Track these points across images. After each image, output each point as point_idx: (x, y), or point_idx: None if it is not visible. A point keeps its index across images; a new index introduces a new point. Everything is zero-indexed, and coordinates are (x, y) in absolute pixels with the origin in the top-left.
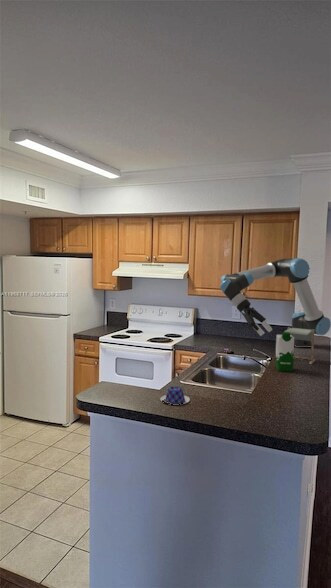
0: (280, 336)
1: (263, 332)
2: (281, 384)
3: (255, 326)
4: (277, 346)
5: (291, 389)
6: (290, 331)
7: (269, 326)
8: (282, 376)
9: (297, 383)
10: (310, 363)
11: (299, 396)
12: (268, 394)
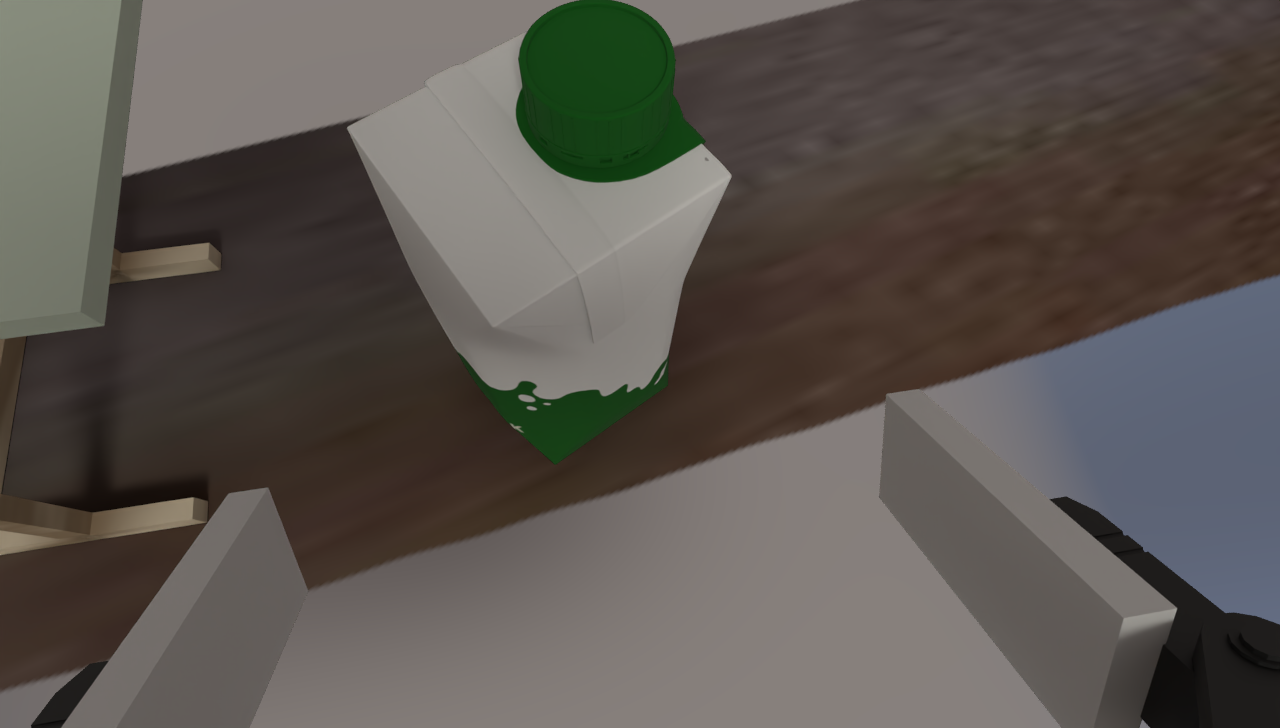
0: (665, 180)
1: (932, 405)
2: (1000, 214)
3: (1169, 585)
4: (674, 305)
5: (1036, 128)
6: (44, 208)
7: (222, 570)
8: (802, 291)
9: (879, 145)
10: (215, 252)
11: (1109, 53)
12: (1262, 191)
